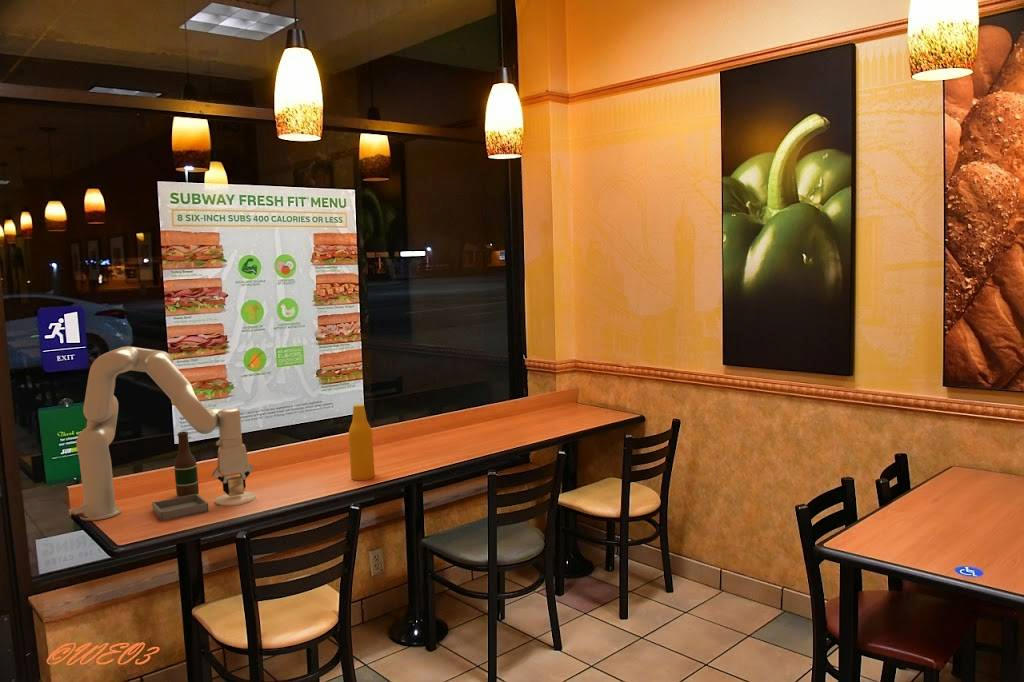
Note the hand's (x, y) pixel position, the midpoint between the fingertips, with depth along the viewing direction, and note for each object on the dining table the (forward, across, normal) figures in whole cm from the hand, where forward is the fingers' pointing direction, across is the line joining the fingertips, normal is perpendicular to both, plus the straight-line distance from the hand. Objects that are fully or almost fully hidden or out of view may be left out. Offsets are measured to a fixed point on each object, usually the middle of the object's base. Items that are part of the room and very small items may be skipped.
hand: (234, 491), depth 281 cm
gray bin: (+3, -19, 0) cm, 19 cm away
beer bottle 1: (+4, -12, +20) cm, 24 cm away
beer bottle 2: (+3, +48, -5) cm, 48 cm away
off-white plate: (+3, 0, 0) cm, 3 cm away
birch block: (+1, 0, 0) cm, 1 cm away
